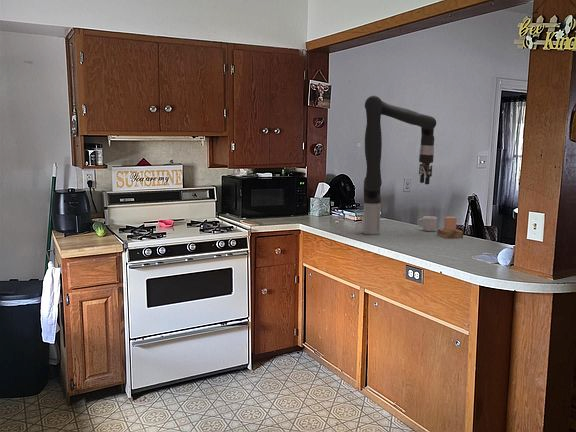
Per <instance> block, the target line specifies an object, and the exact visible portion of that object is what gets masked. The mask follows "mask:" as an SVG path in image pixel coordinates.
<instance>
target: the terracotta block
mask: <svg viewBox="0 0 576 432" xmlns="http://www.w3.org/2000/svg"><path fill="white" fill-rule="evenodd" d="M443 218H444V220H443V223H444V225H443V229H444V230H446V231H456V229H457V217H456V216H444V217H443Z"/></svg>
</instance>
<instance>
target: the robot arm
mask: <svg viewBox="0 0 576 432" xmlns="http://www.w3.org/2000/svg"><path fill="white" fill-rule="evenodd" d="M364 108H365V113H366V126H365V132H364V133H365V134H364V156H365V163H366V174H365V177H364V180H363V215H362V226H361V227H362V228H361V229H362V231H361V232H362V233H363V234H364V235H380V233H381V205H382V203H381V198H382V197H381V186H382V181H383V180H382V174H381V172H382V171H381V161H382V148H383V147H382V145H383V141H382V140H383V138H382V136H383V135H382V125H381V116H386V117H390V118H392V119H395V120H398V121H399V122H403V123H406V124H409V125H412V126H418V127H420V131H421V137H420V148H419V155H418V163H419V166H418V167H419V168H418V175H419V183H420V184H423V183H424V185H430V178H431V177H432V176H433V175H432V174H433V165H430V164H433V163H434V157H435V156H434V154H435V134H434V130H435V128H436V126H437V120H436V118H435V117H433V116H432V115H427V114H424V113H419V112H417V111H414V110H410V109H408V108H405V107H400V106H396V105H392V104H389V103H388V102H385V101H383V100H382V99H381V98H380V97H379V96H376V95H371V96H369V97H368V98H366V100H365V101H364Z"/></svg>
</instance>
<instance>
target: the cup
mask: <svg viewBox="0 0 576 432" xmlns="http://www.w3.org/2000/svg"><path fill="white" fill-rule="evenodd" d="M437 220H438V216H433V215H429V216H428V215H427V216H426V215H425V216H422V218H421V217H420V218H419V219H418V220H417V225H418V226H419V227H423V231H425V232H435V231H436V228H437ZM420 221H422V224H420Z"/></svg>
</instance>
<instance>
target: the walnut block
mask: <svg viewBox="0 0 576 432" xmlns="http://www.w3.org/2000/svg"><path fill="white" fill-rule="evenodd" d="M436 232H437V233H436V236H437V237H440V238H443V239H446V240H448V239H463V237H464V231H463V230H459V229H457V228H456V231H446V230H444V228H437V231H436Z"/></svg>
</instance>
